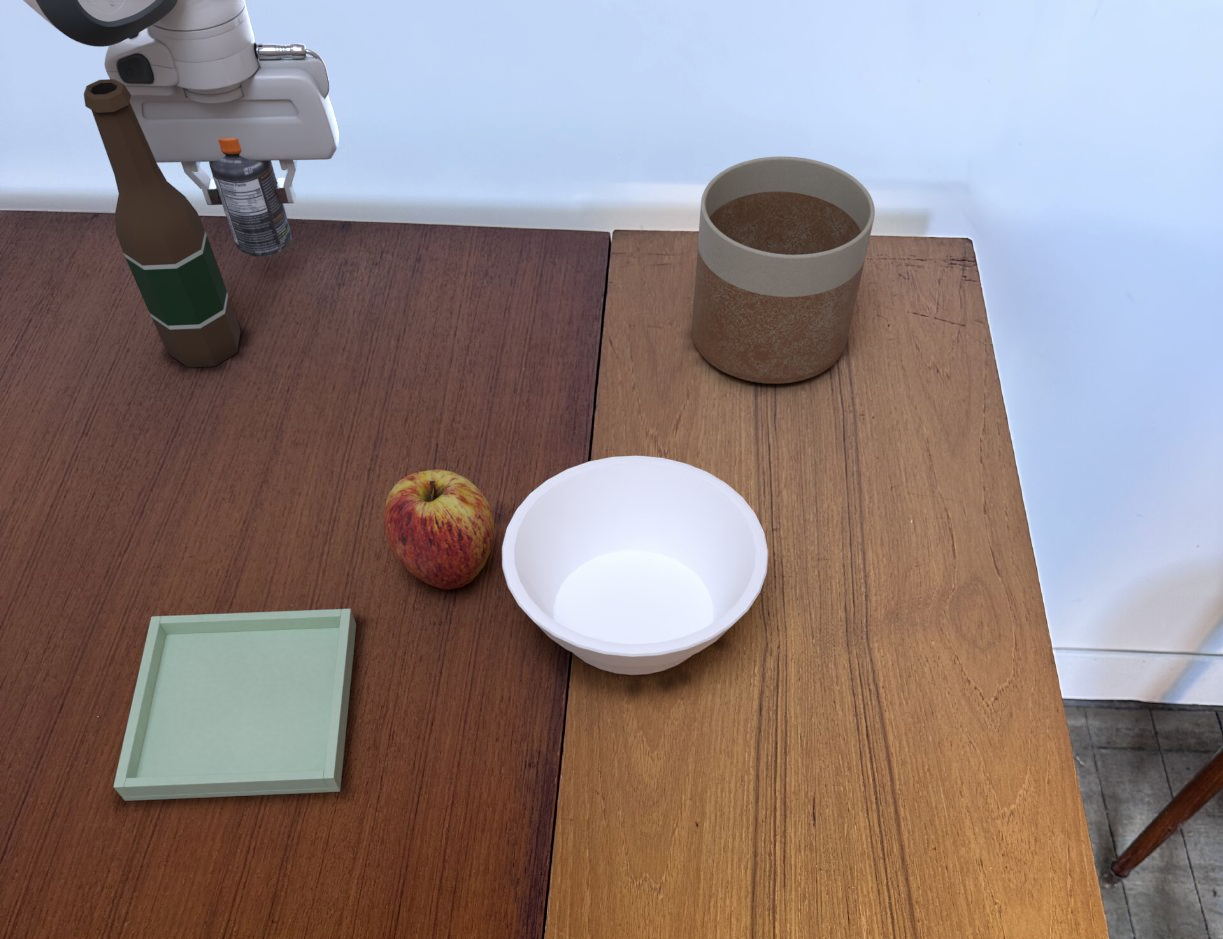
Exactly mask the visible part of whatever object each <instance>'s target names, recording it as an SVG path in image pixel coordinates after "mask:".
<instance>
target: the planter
mask: <svg viewBox="0 0 1223 939" xmlns="http://www.w3.org/2000/svg"><path fill="white" fill-rule="evenodd" d="M874 203H875V202H874V200H873V198H872V196H871V194H870V193H869V191H868V189H867V188H866V187H865V186H864V185H863V184H862V183H861V182H860V181H859V180H858V179H857V178H855V176H853V175H851V174H850V173H848V172H846V171H845V170H843V169H840V168H838V167H836V166H835V165H831V164H829V163H825V162H823V161H819V160H816V159H812V158H811V159H810V158H807V157H806V158H805V157H800V156H799V157H797V156H781V155H780V156H765V157H758V158H754V159H749V160H746V161H745V160H744V161H742V162H739V163H737V164H733V165H732V166H729V167H727V168H725V169H724V170H722V171H720V172H719V173H718V174H717V175H715V176H714V177H713V178H712V179H711V180H710V181H709V182H708V184H707V185H706V186H705V188H704V190H703V193H702V196H701V199H700V208H699V209H700V211H699V212H700V213H699V224H698V237H697V239H698V240H697V252H696V266H695V267H696V268H695V278H694V279H695V280H694V291H693V292H694V293H693V307H692V318H691V320H692V321H691V336H692V339H693V343H694V345H695V347H696V349H697V350H698V352H699V353H700V355H701V356H702V357H703V358H704V360H706V361H707V362H708V363H709V364H710V365H712V366H713V367H715V368H716V369H717V370H719V371H720V372H723V373H725V374H727V375H729V376H732V377H734V378H737V379H740V380H742V381H743V380H744V381H748V382H753V383H757V384H766V385H767V384H769V385H779V384H780V385H781V384H782V385H783V384H791V383H795V382H796V383H797V382H801V381H805V380H809V379H811V378H813V377H816V376H818V375H820V374H822V373H824V372H825V371H827V370H829V369H830V368H831V367H832V366H834V365H835V364H836V362H838V360H839V359H840V358H841V356H842V355H843V353H844V351H845V349H846V346H847V342H848V337H849V332H850V328H851V324H852V320H853V315H854V311H855V306H856V303H857V302H856V301H857V298H858V297H857V296H858V293H859V288H860V284H861V279H862V274H863V270H864V266H865V262H866V257H867V252H868V248H869V243H870V239H871V235H872V230H873V225H874V220H875V215H876V211H875V210H876V209H875V204H874Z"/></svg>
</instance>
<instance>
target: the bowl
mask: <svg viewBox="0 0 1223 939" xmlns="http://www.w3.org/2000/svg"><path fill="white" fill-rule="evenodd" d="M767 544H768V543H767V539H766V533H765V531H764V530H763V526H762V525H761V522H760V521H759V518H758V516H757V514H756V513H755V511H754V510H753V509H752V508H751V506H750V505H749V503H747V501H746V500H745V498H744V497H743V496H742V495H740V494H739V492H737V491H736V490H735V489H734V488H732V487H731V485H729V484H728V483H726V482H725V481H723V480H722V479H720V478H718V477H716V476H715V475H714V474H711V473H710V472H708V471H706V470H704V469H701V468H698V467H696V466H693V465H692V464H688V463H685V462H682V461H677V460H674V459H669V458H664V457H656V456H647V455H624V456H623V455H622V456H610V457H605V458H599V459H595V460H589V461H587V462H584V463H581V464H578V465H575V466H572V467H569V468H567V469H565V470H563V471H561V472H559V473H558V474H555V475H554V476H551V477H550V478H548V479H547V480H545V481H544V482H543V483H541V484H540V485H539V486H538V487H536V488H535V489H534V490H533V491H531V492H530V493H529V494H528V495H527V496H526V497H525V499H524V500H523V501H522V502H521V504H520V505H519V506H518V507H517V508H516V509H515V512H514V513H513V515H512V517H511V519H510V521H509V522H508V525H507V527H506V528H505V533H504V538H503V542H502V545H501V567H502V571H503V575H504V578H505V582H506V586H507V589H508V590H509V591H510V594H511V595H512V596H513V598H514V600H515V601H516V603H517V605H518V606H519V608H521V610H522V611H523V612H524V613H525V614H526V615H527V616H528V617H529V618H530V619H531V621H532V622H534V623H535V625H536V626H537V627H538V628H539V629H541V631H542V632H543V633H544V634H545V635H546V636H547V637H548V638H549V639H550V640H552V641H554V642H555V643H556V644H558V645H559V646H561V647H562V648H563V649H565V650H566V651H569V652H571V653H572V654H573V655H574V656H576V657H577V658H579V659H580V660H582V661H583V662H584V663H586V664H588V665H590V666H593V667H595V668H597V669H599V670H602V671H605V672H609V673H613V674H618V675H629V676H636V675H637V676H639V675H649V674H654V673H659V672H664V671H666V670H668V669H671V668H674V667H676V666H679V665H680V664H682V663H683V662H685V661H686V660H688V659H689V658H691V657H692V656H693V655H695V654H698V653H700V652H701V651H703V650H704V649H706V648H707V647H709V646H711V645H713V643H715V642H717V641H718V640H719V639H720V638H721V637H722V636H723V635H724V634H725V633H726V632H727V631H728V630H729V629H730V628H731V627H733V626H734V624H736V623H737V622H738V621H739V620H740V619H741V618H742V617H744V615H745V614H746V613H747V612H748V611H749V610H750V608H751V607H752V606H753V604H754V602H755V601H756V599H757V598H758V597H759V595H760V593H761V592H762V588H763V586H764V583H765V580H766V577H767V574H768V564H769V550H768V545H767Z"/></svg>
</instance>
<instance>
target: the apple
mask: <svg viewBox="0 0 1223 939" xmlns="http://www.w3.org/2000/svg"><path fill="white" fill-rule="evenodd" d="M383 512H384V513H383V526H384V532H385V533H384V534H385V538H386V542H387V544H388V547H389V549H390V551H391V552H392V554H393V556H394V558H395V559H396V560H397V562H398V563H399V564H400V565H401V567H403V568H404V570H405V571H407V572H408V573H409V574H410V575H412V576H413V577H414V578H415V579H417V580H419V581H421V582H422V583H424V584H427V585H429V586H432V587H434V588H437V589H438V588H439V589H440V590H446V591H447V590H448V591H449V590H455V589H460V588H463V587H464V586H467V585H468V584H470V583H471V582H473V581H474V579H475V578H476V577H477V576H478V575H479V574H480V572H482V570H483V568H484V567H485V566H486V563H487V561H488V559H489V557H490V554H491V551H492V549H493V545H494V540H495V530H496V529H495V519H494V515H493V512H492V508H491V505H490V504H489V500H487V498H486V497H485V495H484V494H483V493H482V491H481V490H480V489H479V488H478V487H477V486H476V485H475V484H474V483H473V482H471V481H470V480H469V479H468V478H466V477H465V476H463V475H461V474H458V473H456V472H453V471H450V470H445V469H429V470H428V469H427V470H423V471H418V472H413V473H411V474H408V475H406V476H404V477H403V478H401V479H400V480H399V481H398V482H397V483H396V484H394V486H393V487H392V489H391V490H390V492H389V493H388V495H387V498H386V501H385V504H384V511H383Z"/></svg>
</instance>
